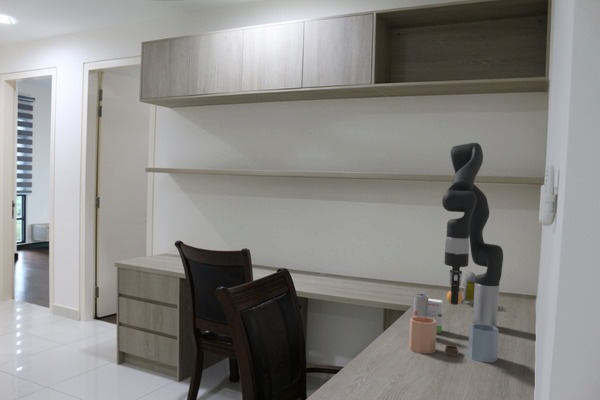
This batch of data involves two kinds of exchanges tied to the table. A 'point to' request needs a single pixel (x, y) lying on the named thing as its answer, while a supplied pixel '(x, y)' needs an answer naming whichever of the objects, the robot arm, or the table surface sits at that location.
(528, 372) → the table surface
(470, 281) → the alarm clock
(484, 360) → the tube slate
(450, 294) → the orange ball
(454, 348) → the brown square tube
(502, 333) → the table surface
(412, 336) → the tube terracotta
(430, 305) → the ink box
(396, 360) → the table surface
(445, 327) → the table surface
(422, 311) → the beverage can
